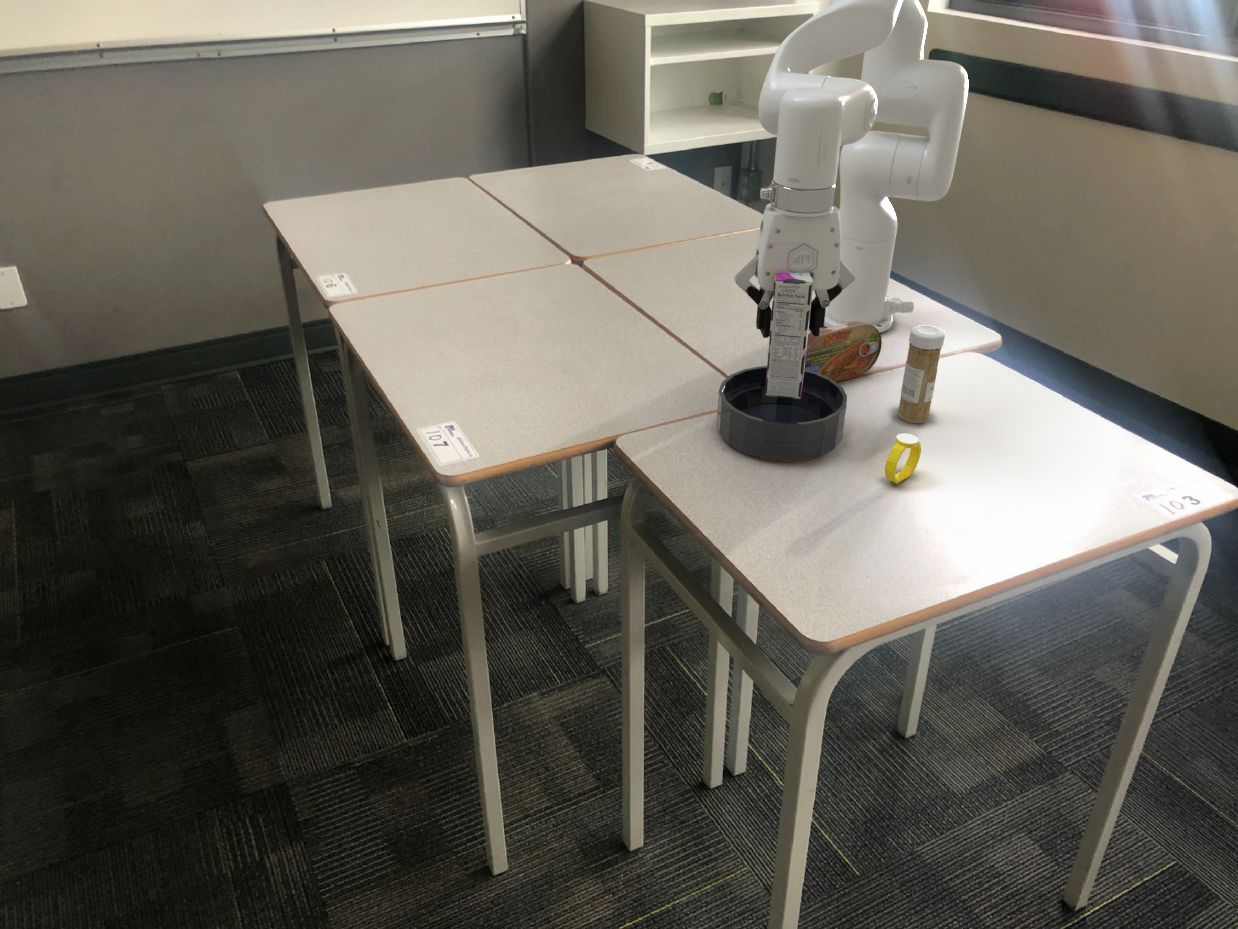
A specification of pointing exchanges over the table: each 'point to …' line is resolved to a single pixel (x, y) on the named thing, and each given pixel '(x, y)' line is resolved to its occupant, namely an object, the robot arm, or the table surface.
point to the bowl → (781, 416)
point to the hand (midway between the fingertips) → (789, 331)
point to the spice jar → (920, 373)
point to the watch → (895, 454)
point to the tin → (843, 350)
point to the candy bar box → (789, 334)
